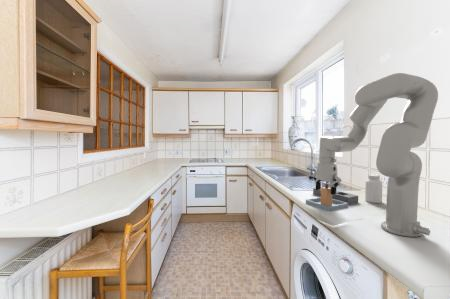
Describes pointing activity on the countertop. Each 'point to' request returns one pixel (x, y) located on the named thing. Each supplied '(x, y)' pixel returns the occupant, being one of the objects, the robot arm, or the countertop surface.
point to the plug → (326, 196)
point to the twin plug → (326, 183)
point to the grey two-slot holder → (340, 196)
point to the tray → (335, 205)
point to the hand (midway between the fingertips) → (325, 191)
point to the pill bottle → (373, 189)
